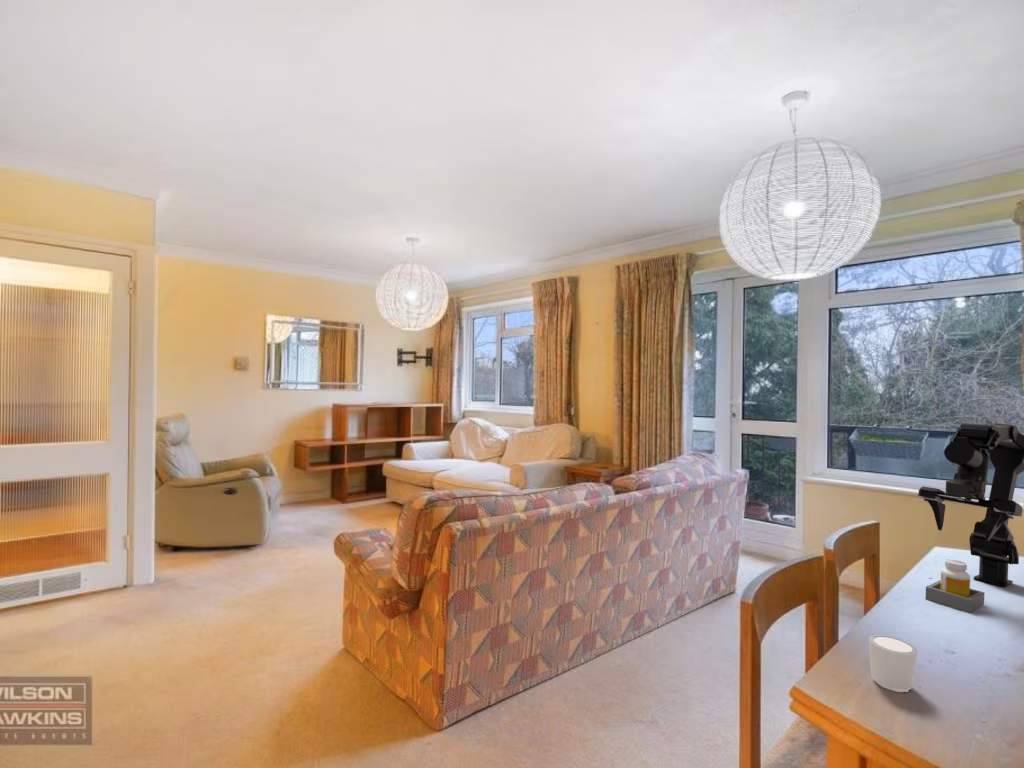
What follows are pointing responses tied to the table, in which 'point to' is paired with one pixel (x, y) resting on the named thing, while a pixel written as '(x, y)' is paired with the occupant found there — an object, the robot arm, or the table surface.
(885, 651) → the white cylinder
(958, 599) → the frame
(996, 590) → the table surface
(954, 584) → the supplement bottle
